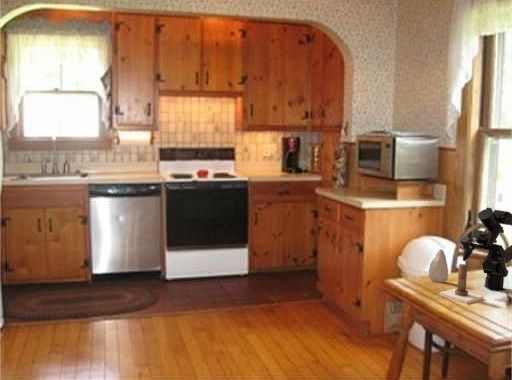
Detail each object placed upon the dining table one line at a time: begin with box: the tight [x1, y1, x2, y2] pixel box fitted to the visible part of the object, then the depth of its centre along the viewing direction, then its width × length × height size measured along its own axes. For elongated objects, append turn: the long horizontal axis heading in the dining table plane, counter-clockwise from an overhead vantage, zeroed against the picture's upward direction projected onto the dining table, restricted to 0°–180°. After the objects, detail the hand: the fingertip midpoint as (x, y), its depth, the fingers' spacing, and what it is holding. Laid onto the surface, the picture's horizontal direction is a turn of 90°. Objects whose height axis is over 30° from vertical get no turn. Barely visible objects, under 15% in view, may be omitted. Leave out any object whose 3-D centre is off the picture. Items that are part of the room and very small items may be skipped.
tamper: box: [455, 263, 469, 296], centre depth 223 cm, size 5×5×12 cm
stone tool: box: [427, 248, 449, 283], centre depth 245 cm, size 8×3×15 cm, turn 68°
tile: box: [439, 287, 484, 305], centre depth 223 cm, size 11×13×1 cm
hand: (472, 263), depth 225 cm, fingers open, 9 cm apart
